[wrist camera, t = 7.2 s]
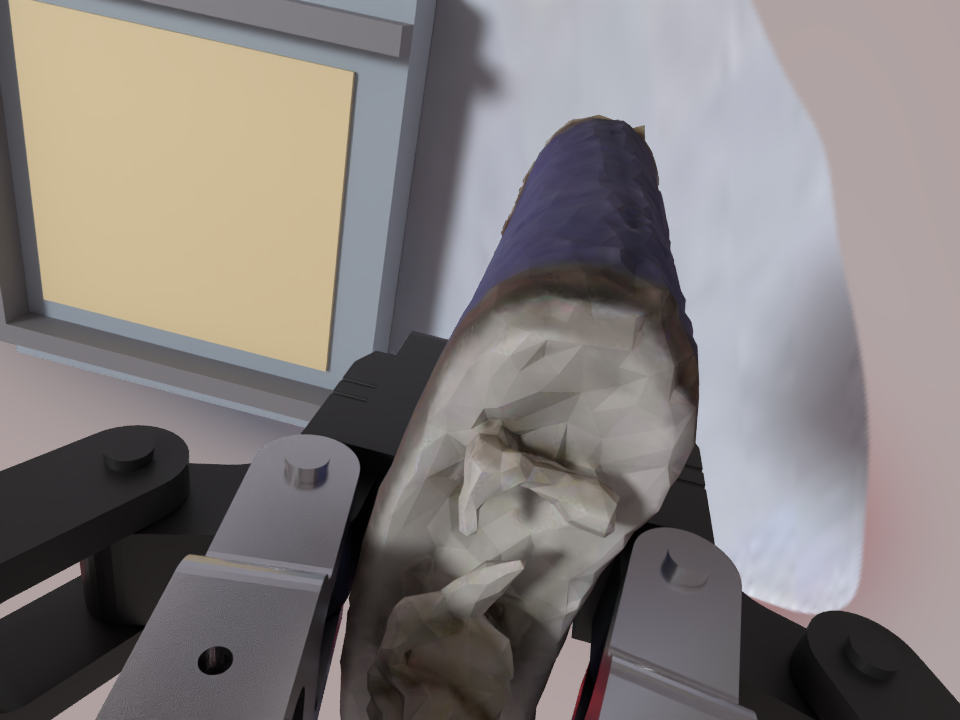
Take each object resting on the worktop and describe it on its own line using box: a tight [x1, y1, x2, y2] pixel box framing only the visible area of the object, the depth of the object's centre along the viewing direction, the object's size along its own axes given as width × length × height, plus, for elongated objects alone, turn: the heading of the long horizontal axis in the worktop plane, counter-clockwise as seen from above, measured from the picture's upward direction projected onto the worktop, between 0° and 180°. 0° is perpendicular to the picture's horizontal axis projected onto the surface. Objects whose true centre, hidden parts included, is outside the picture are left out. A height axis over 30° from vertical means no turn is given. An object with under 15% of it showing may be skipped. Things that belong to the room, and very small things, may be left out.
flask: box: [340, 115, 699, 720], centre depth 11 cm, size 9×3×11 cm, turn 167°
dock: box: [0, 0, 437, 428], centre depth 31 cm, size 20×18×4 cm
